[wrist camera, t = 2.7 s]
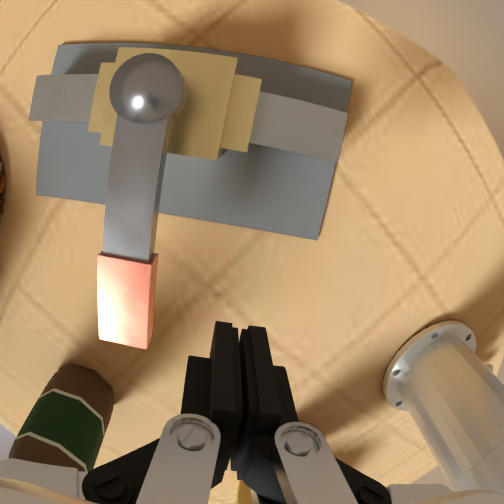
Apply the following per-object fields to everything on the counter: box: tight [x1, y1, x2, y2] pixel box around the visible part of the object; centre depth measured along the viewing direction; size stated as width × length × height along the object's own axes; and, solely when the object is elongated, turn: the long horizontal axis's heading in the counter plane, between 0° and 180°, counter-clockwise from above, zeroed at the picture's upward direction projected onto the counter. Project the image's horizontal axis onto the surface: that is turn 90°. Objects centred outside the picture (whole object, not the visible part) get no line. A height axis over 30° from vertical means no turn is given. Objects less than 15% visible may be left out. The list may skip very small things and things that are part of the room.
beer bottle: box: [9, 364, 113, 472], centre depth 19 cm, size 8×8×24 cm
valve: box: [29, 47, 348, 163], centre depth 18 cm, size 22×6×8 cm, turn 79°
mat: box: [36, 43, 352, 240], centre depth 22 cm, size 24×13×1 cm, turn 79°
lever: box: [97, 53, 188, 349], centre depth 15 cm, size 15×3×2 cm, turn 169°
